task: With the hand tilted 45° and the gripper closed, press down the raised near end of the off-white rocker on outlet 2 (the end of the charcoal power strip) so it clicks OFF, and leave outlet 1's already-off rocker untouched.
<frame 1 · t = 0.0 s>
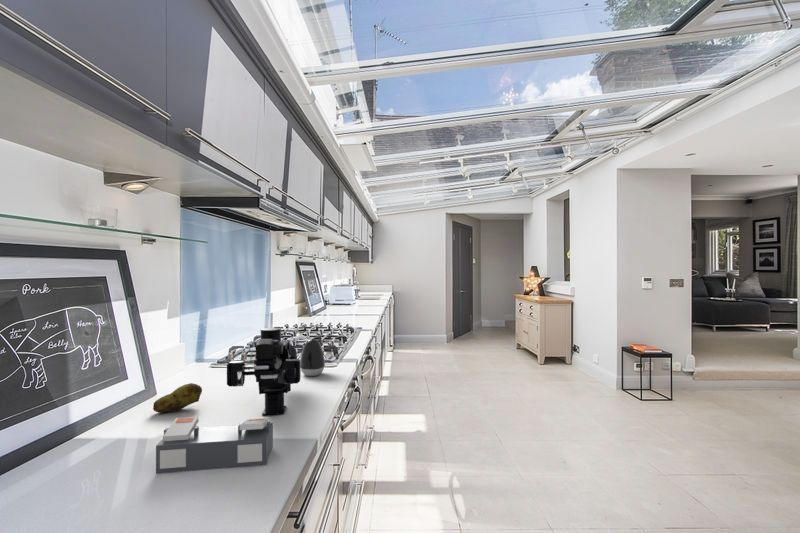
hand: (258, 381, 97), 17 cm above the table, tool horizontal, fingers open, 9 cm apart
power strip: (218, 459, 92), on the table
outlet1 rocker: (254, 423, 93), point 8 cm above the table, hinge at 12.0°
potato: (178, 411, 124), on the table
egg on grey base: (312, 375, 165), on the table
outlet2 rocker: (181, 428, 90), point 8 cm above the table, hinge at -12.0°
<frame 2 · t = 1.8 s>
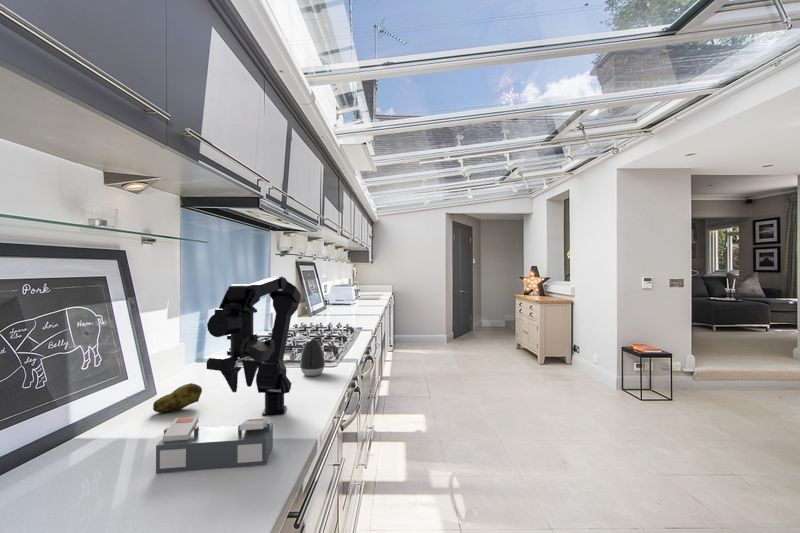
hand: (242, 389, 106), 12 cm above the table, tool pointing down, fingers open, 5 cm apart
nothing on the table moved.
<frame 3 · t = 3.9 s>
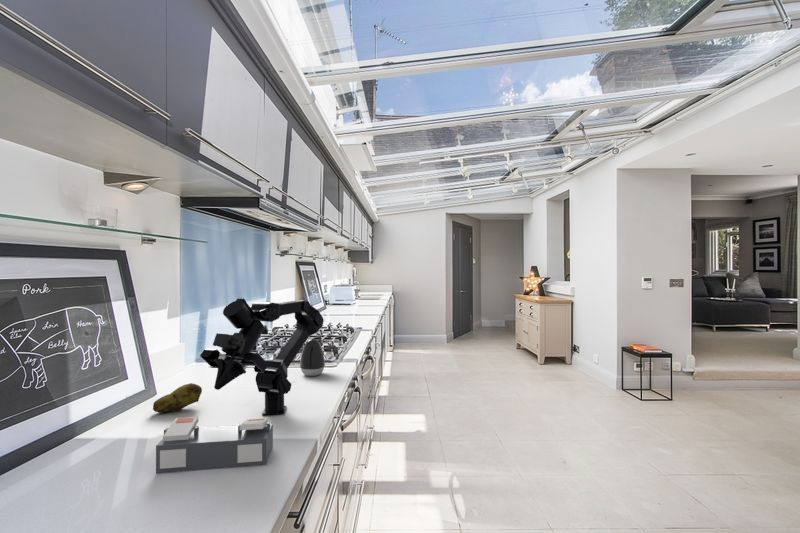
hand: (216, 388, 101), 13 cm above the table, tool tilted 45°, fingers closed
nothing on the table moved.
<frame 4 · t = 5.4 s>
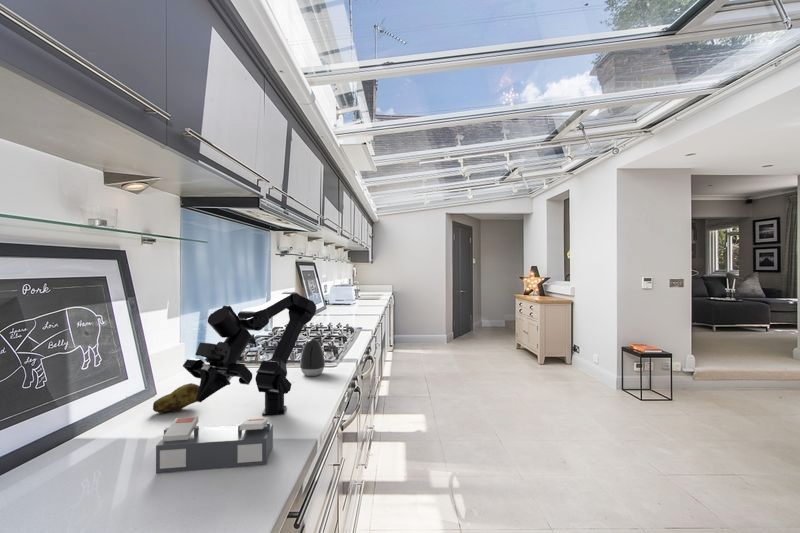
hand: (198, 401, 96), 12 cm above the table, tool tilted 45°, fingers closed
nothing on the table moved.
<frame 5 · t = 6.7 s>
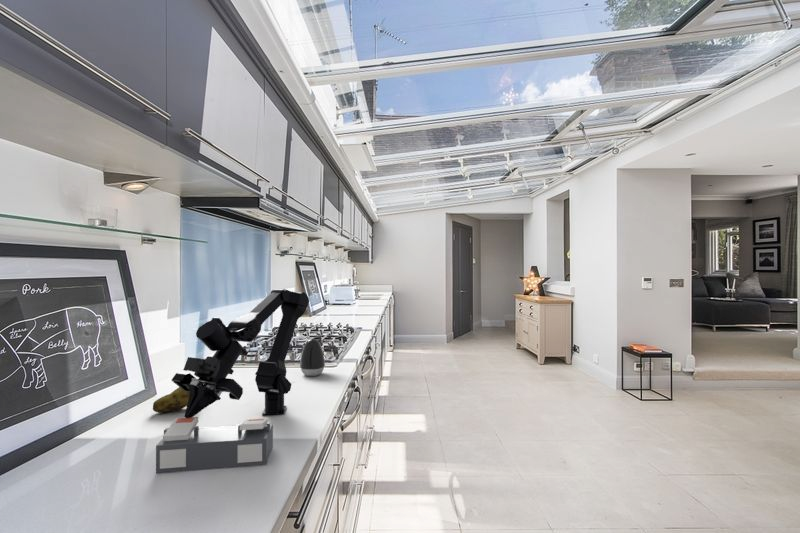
hand: (186, 418, 93), 9 cm above the table, tool tilted 45°, fingers closed, pressing on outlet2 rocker
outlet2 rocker: (181, 428, 90), point 8 cm above the table, hinge at -11.7°, touching gripper
everything else where it was.
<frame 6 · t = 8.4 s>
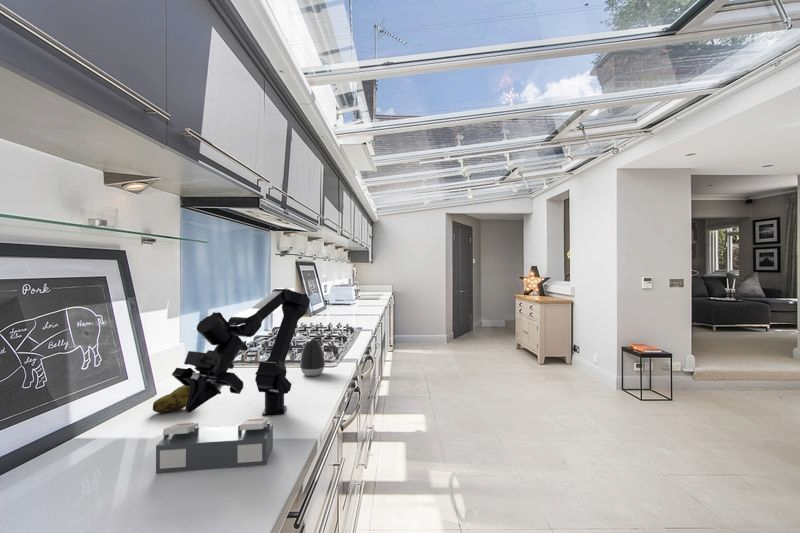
hand: (187, 411, 93), 10 cm above the table, tool tilted 45°, fingers closed
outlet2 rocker: (181, 428, 90), point 8 cm above the table, hinge at 12.8°
everything else where it was.
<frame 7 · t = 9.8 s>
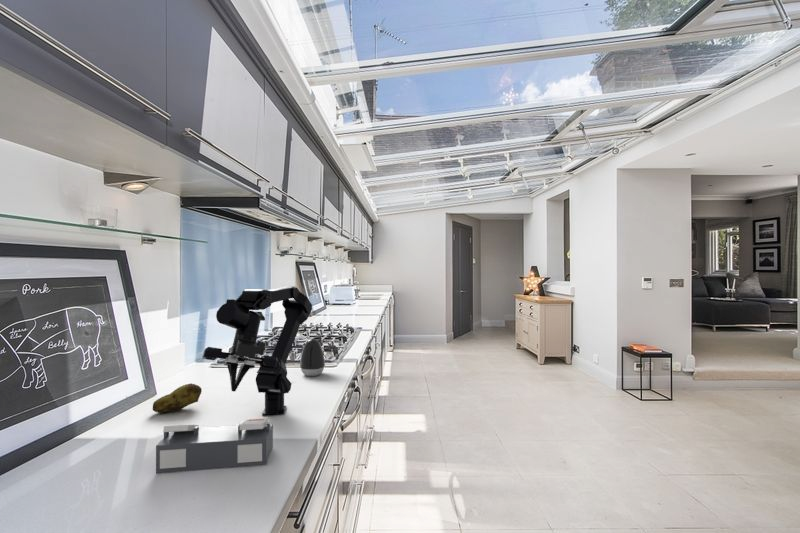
hand: (233, 391, 104), 12 cm above the table, tool tilted 20°, fingers closed
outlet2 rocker: (181, 428, 90), point 8 cm above the table, hinge at 21.7°, touching power strip
everything else where it was.
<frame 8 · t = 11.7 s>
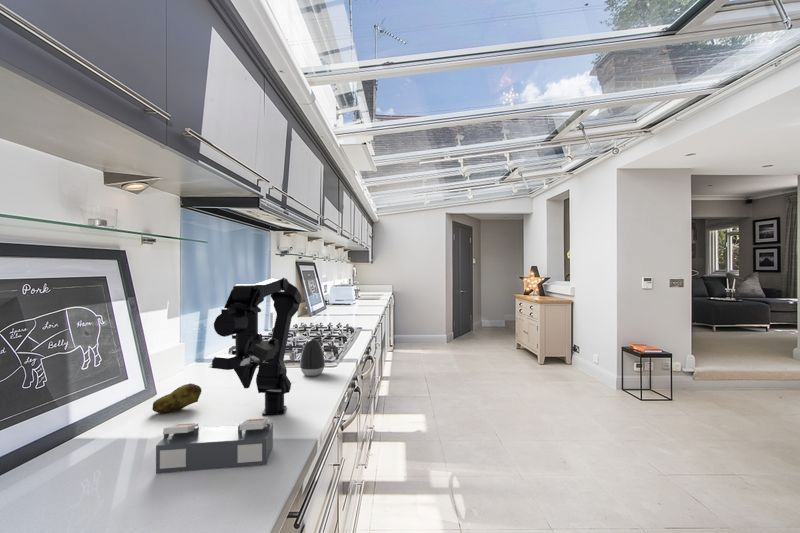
hand: (246, 388, 107), 12 cm above the table, tool pointing down, fingers closed
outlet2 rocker: (181, 428, 90), point 8 cm above the table, hinge at 15.5°
everything else where it was.
at the end: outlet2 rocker at +15° (first picture: -12°); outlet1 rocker at +12° (first picture: +12°) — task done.
